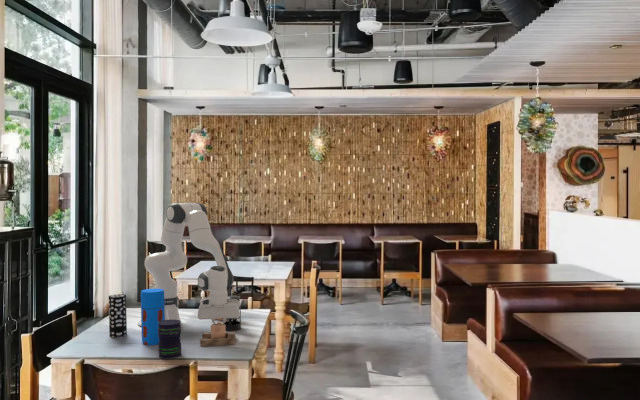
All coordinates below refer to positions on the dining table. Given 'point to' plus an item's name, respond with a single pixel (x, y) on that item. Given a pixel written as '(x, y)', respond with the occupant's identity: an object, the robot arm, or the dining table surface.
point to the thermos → (151, 314)
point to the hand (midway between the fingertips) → (218, 327)
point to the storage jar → (169, 339)
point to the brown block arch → (217, 340)
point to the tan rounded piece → (218, 330)
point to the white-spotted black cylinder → (117, 315)
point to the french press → (233, 324)
